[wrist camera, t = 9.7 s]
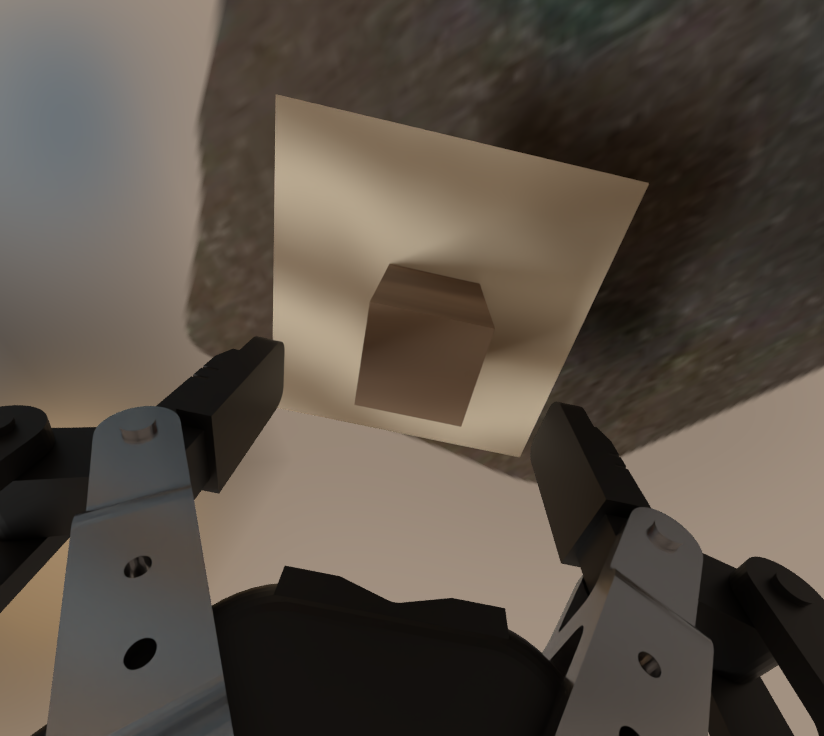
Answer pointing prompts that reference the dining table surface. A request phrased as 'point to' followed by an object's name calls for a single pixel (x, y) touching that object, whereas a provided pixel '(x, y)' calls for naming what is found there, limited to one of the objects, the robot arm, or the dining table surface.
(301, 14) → the dining table surface
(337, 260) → the lid
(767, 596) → the robot arm
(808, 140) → the dining table surface
